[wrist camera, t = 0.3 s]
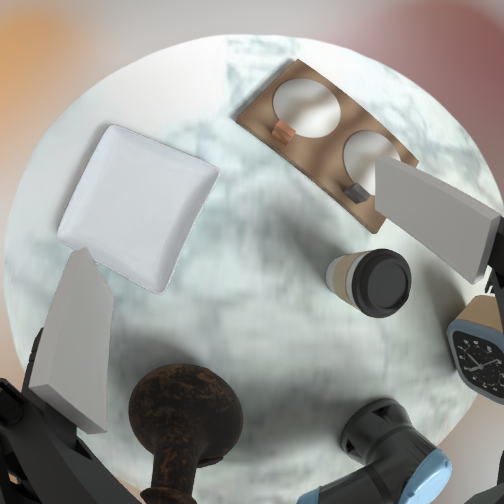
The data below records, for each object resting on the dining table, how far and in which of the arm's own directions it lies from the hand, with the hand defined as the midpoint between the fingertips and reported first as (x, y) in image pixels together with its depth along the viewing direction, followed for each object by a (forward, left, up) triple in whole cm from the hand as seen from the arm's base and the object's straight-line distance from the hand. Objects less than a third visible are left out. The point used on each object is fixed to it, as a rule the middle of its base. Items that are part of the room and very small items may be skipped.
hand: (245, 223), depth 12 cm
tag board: (-4, -25, -34) cm, 43 cm away
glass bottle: (-11, +26, -34) cm, 44 cm away
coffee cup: (-19, -7, -34) cm, 40 cm away
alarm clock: (-54, -14, -34) cm, 65 cm away
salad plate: (+15, +5, -35) cm, 38 cm away
